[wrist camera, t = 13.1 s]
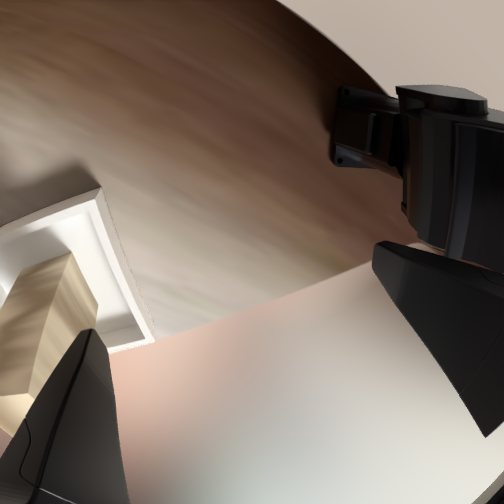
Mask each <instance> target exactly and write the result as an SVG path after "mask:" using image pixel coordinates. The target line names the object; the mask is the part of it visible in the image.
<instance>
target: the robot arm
mask: <svg viewBox="0 0 504 504" xmlns="http://www.w3.org/2000/svg"><path fill="white" fill-rule="evenodd" d="M344 90H346V92H347V93H346V94H345V93H344ZM396 94H397V95H398V99H397V98H394V97H390V96H387V95H383V94H379V93H375V92H372V91H368V90H363V89H359V88H355V87H350V86H341V87H340V88H339V90H338V103H337V110H336V117H335V128H334V138H333V141H334V145H333V154H332V163H333V164H334V165H335V166H338V167H354V168H372V169H378V170H380V171H383V172H385V173H387V174H390V175H392V176H394V177H396V178H398V179H401V180H403V202H401V210H402V212H403V213H404V214H405V215H406V216H407V218H408V222H409V223H410V224H411V226H412V227H413V228H414V229H415V230H416V231H417V232H418V233H417V236H418V238H419V239H420V240H422V241H423V242H425V243H427V244H428V245H430V246H432V247H433V248H435V249H437V250H439V251H443V252H444V256H441V255H437V254H434V253H430V252H427V251H423V250H419V249H416V248H412V247H408V246H405V245H401V244H397V243H393V242H390V241H382V242H379V243H376V244H375V246H374V250H373V258H372V268H373V271H374V273H375V274H376V276H377V277H378V279H379V280H380V282H381V284H382V285H383V287H384V288H385V290H386V291H387V293H388V295H389V296H390V298H391V299H392V301H393V302H394V304H395V305H396V307H397V308H398V309H399V311H400V312H401V313H402V314H403V316H404V317H405V319H406V320H407V321H408V322H409V324H410V325H411V326H412V328H413V329H414V331H415V332H416V333H417V334H418V336H419V337H420V339H421V340H422V342H423V343H424V344H425V346H426V347H427V348H428V350H429V351H430V353H431V354H432V355H433V357H434V358H435V360H436V361H437V363H438V364H439V366H440V367H441V369H442V370H443V372H444V373H445V374H446V376H447V377H448V379H449V380H450V382H451V383H452V385H453V387H454V388H455V390H456V391H457V393H458V394H459V396H460V398H461V399H462V401H463V402H464V404H465V406H466V407H467V409H468V410H469V412H470V414H471V415H472V417H473V419H474V420H475V422H476V424H477V425H478V427H479V429H480V431H481V432H482V434H483V436H484V437H485V438H486V437H488V436H489V435H490V434H491V433H492V432H493V431H494V430H496V429H497V428H498V427H499V426H500V425H501V424H503V423H504V274H501V273H504V112H503V111H499V110H495V109H491V108H488V105H487V99H486V98H484V97H482V96H480V95H478V94H475V93H474V92H471V91H469V90H467V89H464V88H458V87H450V86H443V85H406V86H396ZM338 158H340V161H339V162H337V160H338ZM454 259H463V260H467V261H471V262H475V263H478V264H480V265H483V266H485V267H487V268H489V269H491V270H493V271H491V270H488V269H484V268H481V267H477V266H474V265H471V264H468V263H465V262H461V261H458V260H454ZM494 271H495V272H494ZM0 504H130V499H129V495H128V490H127V485H126V480H125V475H124V469H123V462H122V457H121V449H120V441H119V433H118V424H117V414H116V403H115V395H114V388H113V382H112V377H111V369H110V363H109V355H108V350H107V348H106V346H105V344H104V343H103V341H102V340H101V338H100V336H99V335H98V333H97V332H96V330H95V329H94V328H88V329H84V330H81V331H80V332H79V334H78V335H77V336H76V338H75V339H74V341H73V342H72V344H71V345H70V346H69V348H68V349H67V351H66V352H65V354H64V355H63V357H62V358H61V360H60V361H59V363H58V364H57V366H56V367H55V369H54V370H53V372H52V373H51V375H50V376H49V378H48V379H47V381H46V383H45V384H44V386H43V387H42V389H41V390H40V392H39V394H38V395H37V397H36V399H35V400H34V402H33V404H32V405H31V407H30V409H29V410H28V412H27V414H26V415H25V418H24V419H23V421H22V422H21V424H20V426H19V428H18V430H17V431H16V433H15V435H14V436H13V438H12V440H11V442H10V443H9V445H8V447H7V448H6V450H5V452H4V453H3V455H2V456H1V458H0ZM472 504H504V471H503V472H502V474H501V475H500V476H499V477H498V478H497V479H496V480H495V481H494V482H493V483H492V484H491V486H489V487H488V488H487V489H486V490H485V491H484V492H483V493H482V494H481V495H480V496H479V497H478V498H477V499H476V500H475V501H474V502H473V503H472Z"/></svg>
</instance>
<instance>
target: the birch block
mask: <svg viewBox="0 0 504 504" xmlns="http://www.w3.org/2000/svg"><path fill="white" fill-rule="evenodd" d="M97 311H98V303H97V301H96V299H95V297H94V296H93V294H92V292H91V290H90V288H89V286H88V284H87V282H86V280H85V278H84V276H83V274H82V272H81V270H80V268H79V266H78V264H77V262H76V260H75V257H74V255H73V253H72V252H69V253H66V254H64V255H61V256H58V257H55V258H52V259H49V260H47V261H44V262H41V263H38V264H36V265H33V266H30V267H27V268H25V269H22V270H21V272H20V273H19V275H18V277H17V279H16V281H15V282H14V284H13V286H12V288H11V290H10V292H9V294H8V296H7V298H6V300H5V302H4V304H3V306H2V308H1V310H0V428H1V429H3V430H4V431H5V432H6V433H8V434H9V435H10V436H12V437H13V436H14V435H15V433H16V431H17V430H18V428H19V426H20V424H21V422H22V421H23V419H24V418H25V415H26V414H27V412H28V410H29V409H30V407H31V405H32V404H33V402H34V400H35V399H36V397H37V395H38V394H39V392H40V390H41V389H42V387H43V386H44V384H45V383H46V381H47V379H48V378H49V376H50V375H51V373H52V372H53V370H54V369H55V367H56V366H57V364H58V363H59V361H60V360H61V358H62V357H63V355H64V354H65V352H66V351H67V349H68V348H69V346H70V345H71V344H72V342H73V341H74V339H75V338H76V336H77V335H78V334H79V332H80V331H81V330H84V329H88V328H94V329H95V324H96V317H97Z"/></svg>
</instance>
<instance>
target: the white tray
mask: <svg viewBox="0 0 504 504" xmlns="http://www.w3.org/2000/svg"><path fill="white" fill-rule="evenodd" d="M69 252H72V253H73V255H74V257H75V260H76V262H77V264H78V266H79V268H80V270H81V272H82V274H83V276H84V278H85V280H86V282H87V284H88V286H89V288H90V290H91V292H92V294H93V296H94V297H95V299H96V301H97V303H98V311H97V317H96V324H95V330H96V332H97V333H98V335H99V336H100V338H101V340H102V341H103V343H104V344H105V346H106V348H107V350H108V353H112V352H117V351H121V350H125V349H129V348H133V347H137V346H142V345H146V344H149V343H153V342H155V335H154V323H153V320H152V317H151V315H150V313H149V311H148V309H147V307H146V304H145V302H144V300H143V298H142V295H141V293H140V291H139V288H138V286H137V284H136V281H135V279H134V276H133V274H132V272H131V269H130V267H129V264H128V262H127V259H126V256H125V254H124V251H123V249H122V246H121V243H120V241H119V238H118V235H117V232H116V229H115V227H114V224H113V221H112V218H111V215H110V212H109V209H108V206H107V203H106V200H105V197H104V193H103V190H102V187H100V188H97V189H94V190H91V191H88V192H86V193H83V194H80V195H77V196H74V197H72V198H69V199H66V200H64V201H61V202H58V203H56V204H53V205H51V206H48V207H45V208H43V209H41V210H38V211H36V212H33V213H31V214H28V215H26V216H24V217H21V218H19V219H17V220H15V221H12V222H10V223H8V224H6V225H4V226H1V227H0V310H1V308H2V306H3V304H4V302H5V300H6V298H7V296H8V294H9V292H10V290H11V288H12V286H13V284H14V282H15V281H16V279H17V277H18V275H19V273H20V272H21V270H22V269H25V268H27V267H30V266H33V265H36V264H38V263H41V262H44V261H47V260H49V259H52V258H55V257H58V256H61V255H64V254H66V253H69Z"/></svg>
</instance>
